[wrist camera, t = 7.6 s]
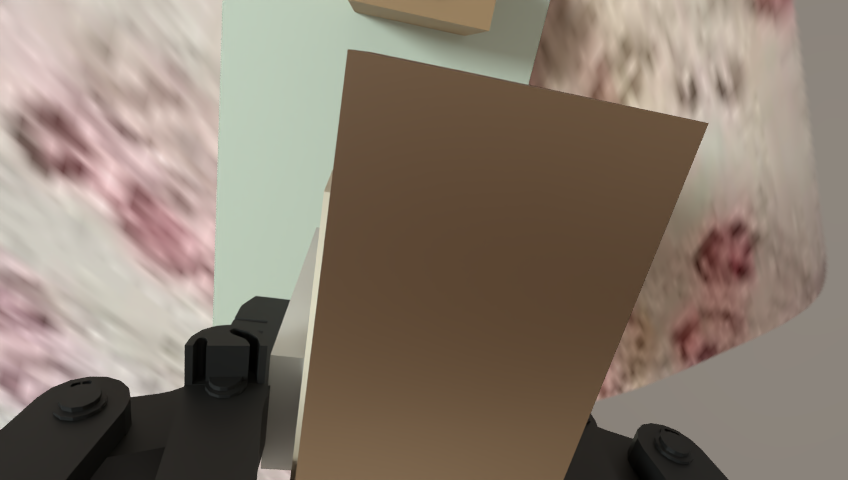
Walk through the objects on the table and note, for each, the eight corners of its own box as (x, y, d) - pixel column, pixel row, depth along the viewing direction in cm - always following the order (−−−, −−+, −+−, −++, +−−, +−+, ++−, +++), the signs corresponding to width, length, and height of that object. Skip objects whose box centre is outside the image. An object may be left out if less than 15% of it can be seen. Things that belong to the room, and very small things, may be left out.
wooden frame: (364, 50, 13) (326, 45, 3) (480, 74, 13) (723, 126, 4) (315, 418, 17) (241, 844, 8) (401, 426, 18) (427, 832, 8)
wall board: (237, -119, 19) (168, -204, 13) (550, -40, 21) (623, -79, 15) (219, 355, 28) (172, 446, 21) (444, 377, 30) (463, 465, 23)
